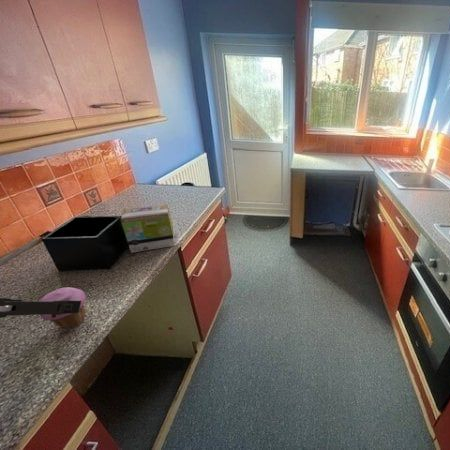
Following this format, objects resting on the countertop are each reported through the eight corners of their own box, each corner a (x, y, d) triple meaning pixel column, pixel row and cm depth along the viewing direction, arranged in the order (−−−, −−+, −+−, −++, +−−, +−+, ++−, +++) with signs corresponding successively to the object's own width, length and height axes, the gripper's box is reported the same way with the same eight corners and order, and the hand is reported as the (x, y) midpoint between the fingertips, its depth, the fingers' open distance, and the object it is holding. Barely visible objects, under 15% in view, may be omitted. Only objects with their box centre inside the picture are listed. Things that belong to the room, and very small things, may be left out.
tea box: (130, 254, 92) (118, 218, 85) (133, 241, 100) (123, 207, 93) (175, 246, 98) (167, 212, 91) (175, 234, 105) (167, 202, 99)
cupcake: (89, 328, 63) (74, 299, 58) (45, 341, 60) (24, 311, 55) (96, 304, 70) (83, 277, 65) (57, 314, 67) (40, 286, 62)
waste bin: (58, 271, 82) (41, 238, 76) (87, 245, 95) (75, 216, 90) (109, 269, 84) (96, 237, 78) (131, 244, 97) (122, 215, 91)
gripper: (-183, 334, 36) (-13, 322, 57) (-6, 337, 37) (98, 324, 57) (-154, 282, 39) (-1, 288, 59) (12, 285, 39) (106, 290, 60)
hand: (48, 306), depth 58 cm, fingers open, 13 cm apart
